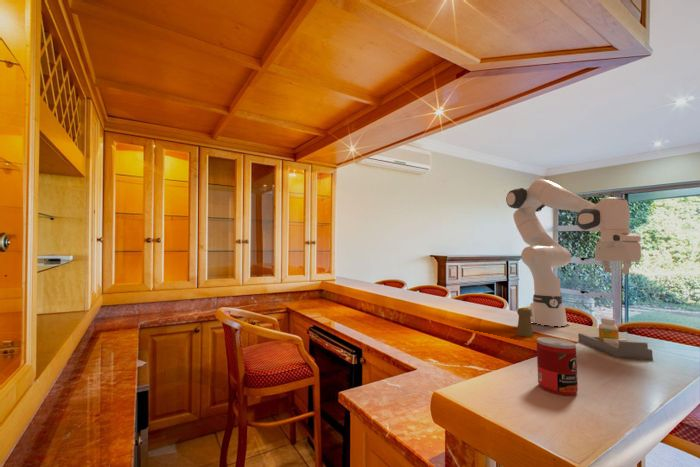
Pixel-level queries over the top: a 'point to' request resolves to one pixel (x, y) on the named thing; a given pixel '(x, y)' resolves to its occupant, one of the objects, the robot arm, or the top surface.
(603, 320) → the supplement bottle
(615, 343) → the pale grey block
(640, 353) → the pusher lane
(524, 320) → the cork
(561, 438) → the top surface
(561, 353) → the canned food
